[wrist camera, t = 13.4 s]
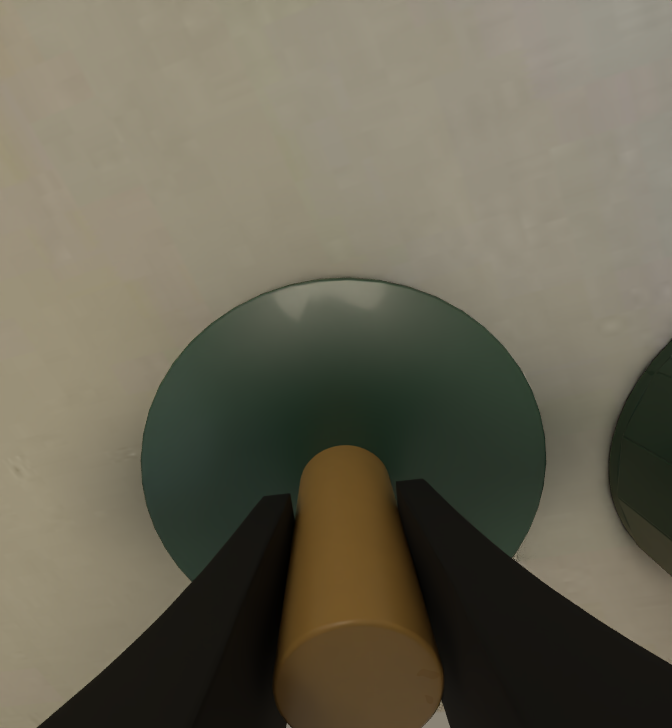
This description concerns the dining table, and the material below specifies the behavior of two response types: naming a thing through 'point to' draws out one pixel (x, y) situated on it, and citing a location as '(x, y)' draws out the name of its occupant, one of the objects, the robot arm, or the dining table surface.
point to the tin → (646, 461)
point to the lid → (344, 474)
